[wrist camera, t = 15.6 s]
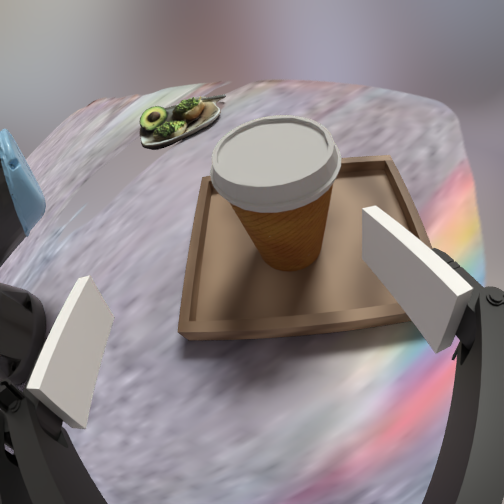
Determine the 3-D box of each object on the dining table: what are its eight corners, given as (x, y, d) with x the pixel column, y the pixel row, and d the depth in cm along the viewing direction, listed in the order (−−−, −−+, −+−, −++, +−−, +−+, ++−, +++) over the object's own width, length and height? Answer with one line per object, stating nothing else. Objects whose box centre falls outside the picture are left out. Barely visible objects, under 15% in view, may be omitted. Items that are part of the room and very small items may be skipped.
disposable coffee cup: (354, 232, 27) (363, 131, 17) (301, 306, 24) (287, 216, 14) (281, 197, 32) (261, 104, 22) (224, 256, 29) (179, 166, 19)
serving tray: (188, 340, 26) (177, 332, 24) (208, 190, 37) (202, 177, 35) (439, 315, 21) (449, 304, 19) (387, 170, 33) (389, 155, 31)
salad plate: (217, 92, 58) (212, 75, 54) (243, 118, 47) (237, 96, 44) (141, 125, 57) (133, 109, 53) (145, 160, 46) (134, 141, 43)
